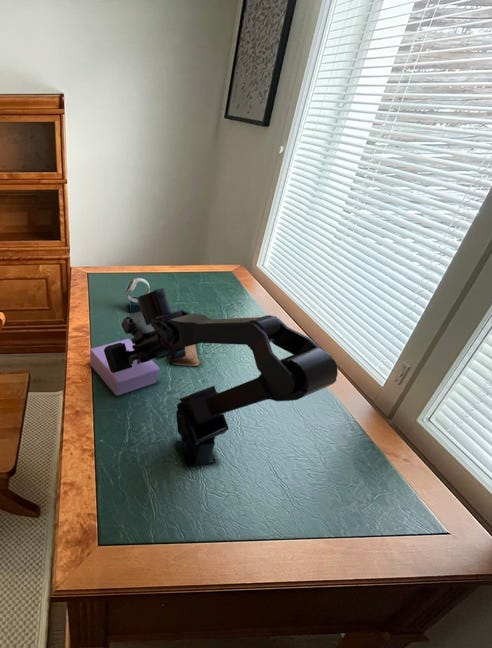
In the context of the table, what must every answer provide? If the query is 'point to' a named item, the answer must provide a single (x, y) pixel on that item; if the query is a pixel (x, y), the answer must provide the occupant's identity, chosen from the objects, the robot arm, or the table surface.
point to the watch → (133, 300)
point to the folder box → (124, 386)
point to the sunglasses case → (188, 357)
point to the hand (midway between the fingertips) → (128, 357)
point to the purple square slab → (130, 373)
